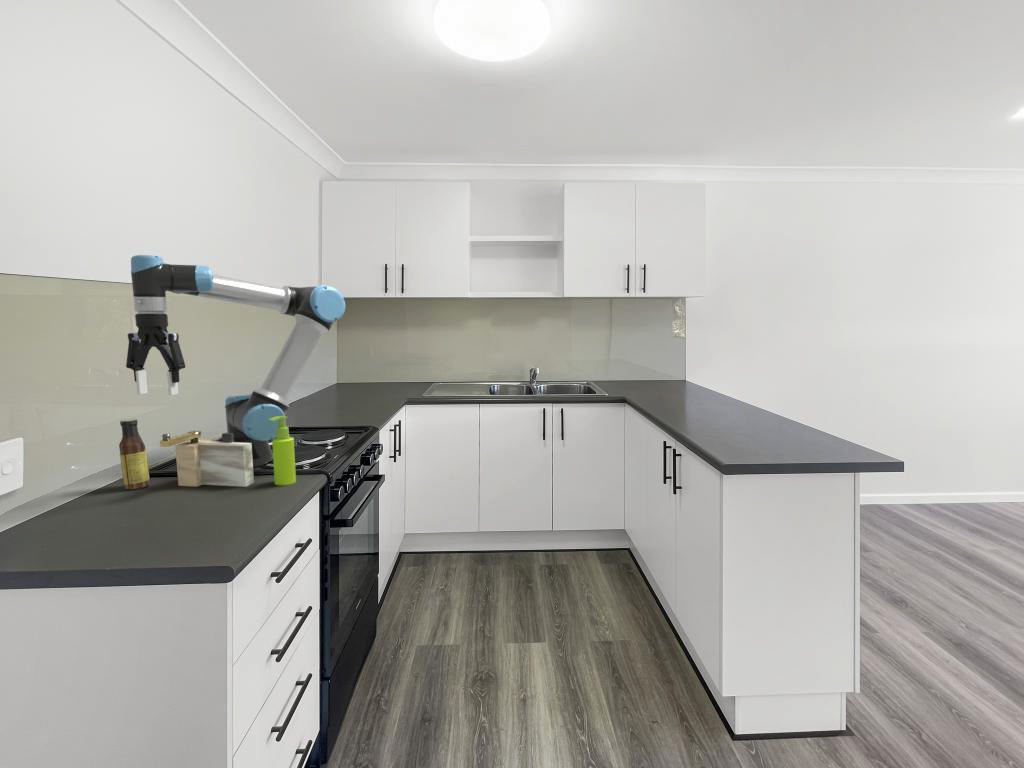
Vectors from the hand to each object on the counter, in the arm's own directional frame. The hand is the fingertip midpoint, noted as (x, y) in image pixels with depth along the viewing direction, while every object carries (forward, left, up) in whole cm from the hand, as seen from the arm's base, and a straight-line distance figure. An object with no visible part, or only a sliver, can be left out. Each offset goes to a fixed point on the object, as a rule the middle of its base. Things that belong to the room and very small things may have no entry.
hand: (158, 393), depth 157 cm
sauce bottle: (0, -10, -28) cm, 29 cm away
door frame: (-7, +11, -27) cm, 31 cm away
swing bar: (-2, +4, -14) cm, 15 cm away
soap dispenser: (-10, +30, -28) cm, 42 cm away
